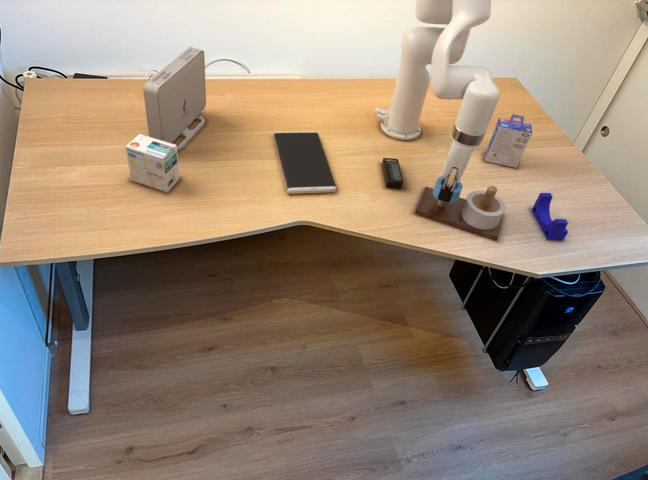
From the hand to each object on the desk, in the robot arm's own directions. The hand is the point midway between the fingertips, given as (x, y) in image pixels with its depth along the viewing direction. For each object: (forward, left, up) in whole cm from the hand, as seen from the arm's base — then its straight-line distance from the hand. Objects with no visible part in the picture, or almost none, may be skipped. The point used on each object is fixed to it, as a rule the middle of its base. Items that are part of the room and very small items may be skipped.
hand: (446, 191), depth 143 cm
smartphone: (-40, 0, -6) cm, 40 cm away
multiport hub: (-16, +7, -6) cm, 18 cm away
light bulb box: (-71, -26, -6) cm, 76 cm away
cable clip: (+28, +8, -6) cm, 30 cm away
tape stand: (+5, 0, -6) cm, 8 cm away
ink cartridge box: (+12, +32, -6) cm, 35 cm away
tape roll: (0, 0, -1) cm, 1 cm away
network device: (-77, -4, -6) cm, 77 cm away
